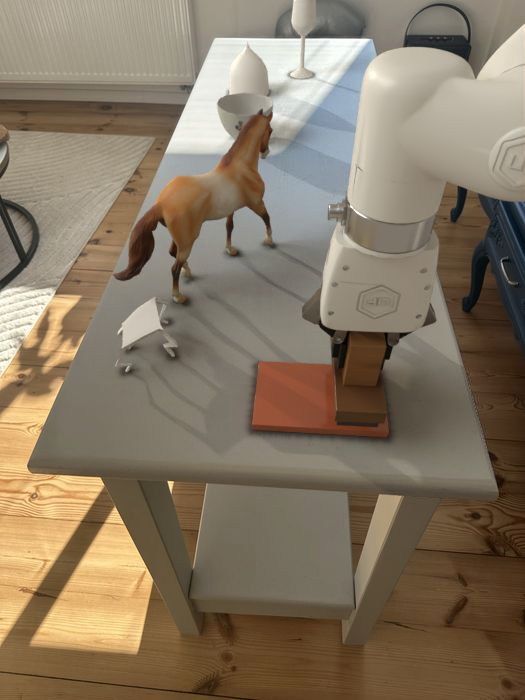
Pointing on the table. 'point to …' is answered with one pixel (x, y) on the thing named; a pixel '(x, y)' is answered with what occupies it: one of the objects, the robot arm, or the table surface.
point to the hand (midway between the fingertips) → (358, 359)
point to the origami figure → (143, 328)
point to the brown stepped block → (360, 381)
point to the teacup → (241, 110)
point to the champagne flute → (303, 30)
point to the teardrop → (248, 74)
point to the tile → (301, 401)
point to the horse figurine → (205, 203)
